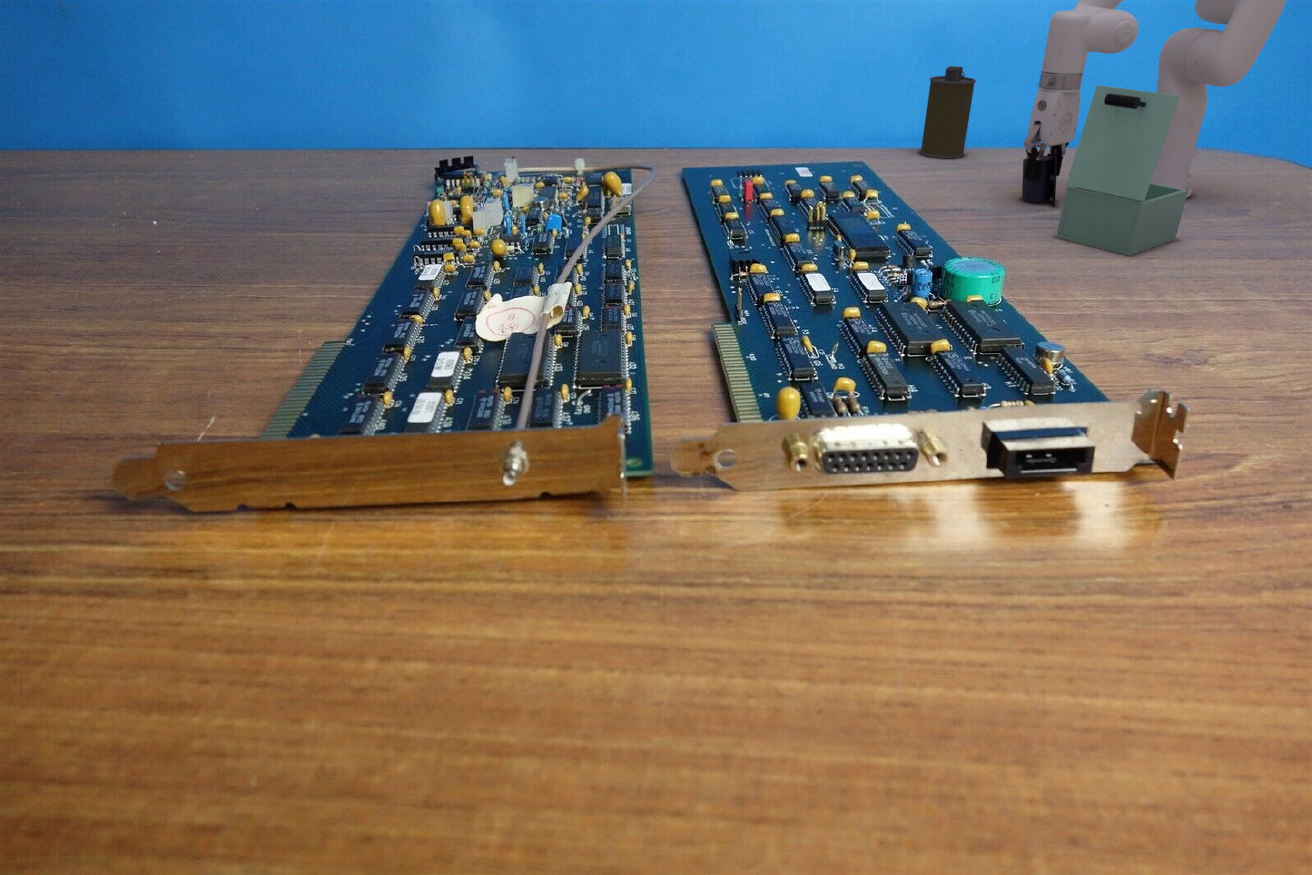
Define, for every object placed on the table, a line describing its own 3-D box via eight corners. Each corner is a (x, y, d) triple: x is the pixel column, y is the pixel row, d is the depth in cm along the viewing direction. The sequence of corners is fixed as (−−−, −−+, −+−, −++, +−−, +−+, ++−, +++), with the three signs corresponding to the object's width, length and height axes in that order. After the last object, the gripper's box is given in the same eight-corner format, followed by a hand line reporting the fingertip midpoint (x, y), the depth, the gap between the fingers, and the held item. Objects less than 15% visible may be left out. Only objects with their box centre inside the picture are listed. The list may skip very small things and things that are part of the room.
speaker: (1064, 200, 189) (1069, 147, 184) (1054, 207, 185) (1059, 153, 180) (1027, 197, 193) (1030, 146, 188) (1016, 204, 189) (1019, 152, 185)
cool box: (1102, 223, 175) (1114, 175, 171) (1175, 240, 165) (1188, 190, 161) (1056, 237, 166) (1066, 187, 162) (1129, 256, 157) (1142, 204, 153)
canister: (956, 160, 222) (970, 71, 212) (913, 155, 227) (925, 67, 217) (969, 152, 230) (983, 66, 220) (928, 148, 235) (940, 63, 225)
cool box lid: (1098, 85, 156) (1084, 82, 153) (1180, 95, 147) (1165, 92, 144) (1068, 185, 162) (1053, 184, 159) (1144, 201, 153) (1130, 200, 150)
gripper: (1052, 88, 171) (1033, 187, 179) (1103, 80, 180) (1082, 174, 188) (1016, 83, 176) (999, 180, 184) (1067, 76, 185) (1049, 168, 194)
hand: (1041, 176), depth 186 cm, fingers closed on speaker, 6 cm apart
